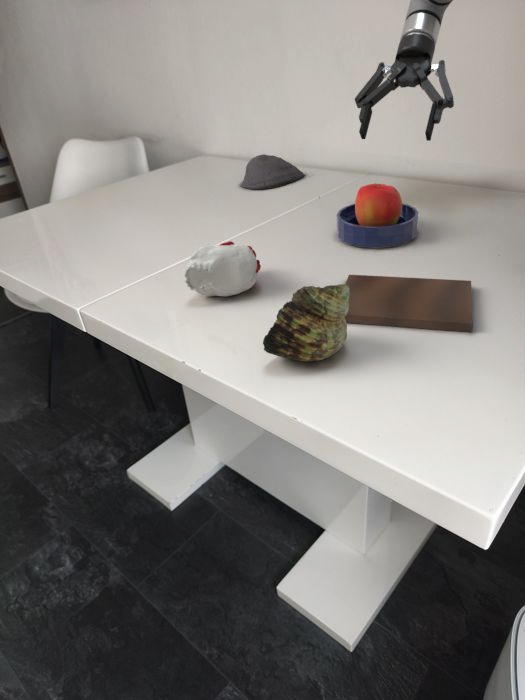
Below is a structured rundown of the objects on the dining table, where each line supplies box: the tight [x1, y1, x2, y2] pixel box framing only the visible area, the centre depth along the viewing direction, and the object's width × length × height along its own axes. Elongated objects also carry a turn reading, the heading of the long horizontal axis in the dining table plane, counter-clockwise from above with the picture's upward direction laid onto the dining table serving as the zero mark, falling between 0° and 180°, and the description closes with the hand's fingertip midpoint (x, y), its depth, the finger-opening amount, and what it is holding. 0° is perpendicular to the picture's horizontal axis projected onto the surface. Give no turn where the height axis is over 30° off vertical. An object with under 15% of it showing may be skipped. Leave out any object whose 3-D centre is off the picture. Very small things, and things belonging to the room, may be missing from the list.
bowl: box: [336, 202, 420, 249], centre depth 111 cm, size 16×16×4 cm
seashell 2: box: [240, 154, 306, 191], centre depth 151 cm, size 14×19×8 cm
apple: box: [354, 183, 403, 227], centre depth 109 cm, size 10×10×10 cm
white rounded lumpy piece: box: [184, 240, 262, 297], centre depth 94 cm, size 9×11×15 cm
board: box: [345, 274, 474, 333], centre depth 86 cm, size 20×14×2 cm
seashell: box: [262, 283, 350, 363], centre depth 74 cm, size 11×11×10 cm
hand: (394, 136), depth 110 cm, fingers open, 13 cm apart
